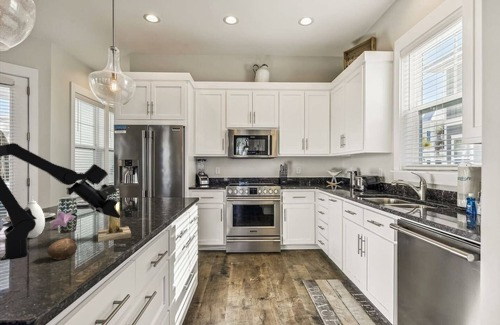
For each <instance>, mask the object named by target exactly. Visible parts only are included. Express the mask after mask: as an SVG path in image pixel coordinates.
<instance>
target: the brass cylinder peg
mask: <svg viewBox="0 0 500 325" xmlns="http://www.w3.org/2000/svg"><path fill="white" fill-rule="evenodd" d="M115 201H116V202H118V203H117V204H116V205H115V209H116V211H117V212H118V213H119V215H120V216H121V202H120V201H118V200H115ZM107 227H108V228H107V229H108V233H109V234H112V233H119V232H120V227H121V217H120V218H115V217H112V216H108V215H107Z"/></svg>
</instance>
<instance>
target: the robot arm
mask: <svg viewBox="0 0 500 325" xmlns="http://www.w3.org/2000/svg"><path fill="white" fill-rule="evenodd" d="M7 156H12V157H14V158H17V159H18V160H20V161H23V162H25V163H27V164H29V165H31V166H33V167H35V168H37V169H39V170H41V171H43V172H45V173H46V174H48V175H50V176H51V177H52V178H53V179H54V180H56V181H57V182H58V183H60V184H63V185H67V186H70V187H66V194H67V195H68V196H71V195H72V194H73V193H74V194H75V195H77V196H78V197H79V198H81V199H82V200H83V202H85V203H87V204H88V208H89V209H90V210H93V211H95V212H97V213H101V214H102V215H106V216H107V217H108V216H112V217H115V218H120V219H121V214H120V215H119V213H118V212H117V211H116V209H115V205H116V204H117V203H118V202H116V201H117V200H115V199H113V198H109V196H110V195H111V196H112V195H113V194H116V193H117V192H118V189H117V188H116V185H115V184H106V183H104V184H102V185H101V186H100V189H96V188H95V187H94V186H95V185H99V184H100V183H101V182H102V181H103V180H104V179H105V178H106V177H107V176H108V175H109V173H108V172H107V170H105V169H104V168H101V167H100V166H99V165H97V164H95V163H94V164H91V166H90V167H89V168H88V169H87V170H86V171H85V172H84V173H83V172H79V173H78V172H77V171H76V170H73V169H72V168H71V169H70V168H68V167H64V166H62V165H58V164H55V163H53V162H51V161H49V160H48V159H45V158H43V157H42V156H39V155H37V154H36V153H33V152H32V151H30V150H28V149H26V148H23V146H20V145H19V144H18V143H14V142H13V143H11V142H10V143H7V144H2V145H1V144H0V157H7ZM0 203H1V204H2V205H3V207H4V209H5V210H6V212H7V215H8V218H9V221H10V222H11V224H10V225H9V226H8V227H7V228H5V229H4V231H3V234H4V236H5V238H4V254H3V256H2V257H0V260H2V261H3V260H8V259H17V258H22V257H27V256H28V255H29V254H30V252H31V249H28V237H27V236H28V234H29V232H30V231H32V230H33V229H34V228H35V225H36V222H35V220H34V219H37V218H36V217H35V216H34V215H32V212H31V210H30V208H29V207H27V208H25V207H24V208H23V207H22V206H21V205H20V202H18V200H17V199H16V197H15V196H14V194H13V193H12V192H11V190H10V189H9V186H7V184H6V182H5V180H4V179H3V178H2V175H0Z"/></svg>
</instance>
